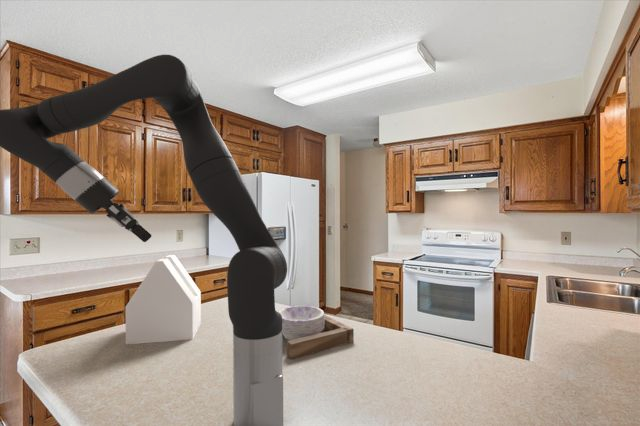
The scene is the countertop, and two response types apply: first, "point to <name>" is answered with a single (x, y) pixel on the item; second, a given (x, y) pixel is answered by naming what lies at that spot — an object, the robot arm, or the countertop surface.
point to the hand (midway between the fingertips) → (147, 237)
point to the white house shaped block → (164, 305)
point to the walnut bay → (321, 339)
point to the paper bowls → (301, 321)
